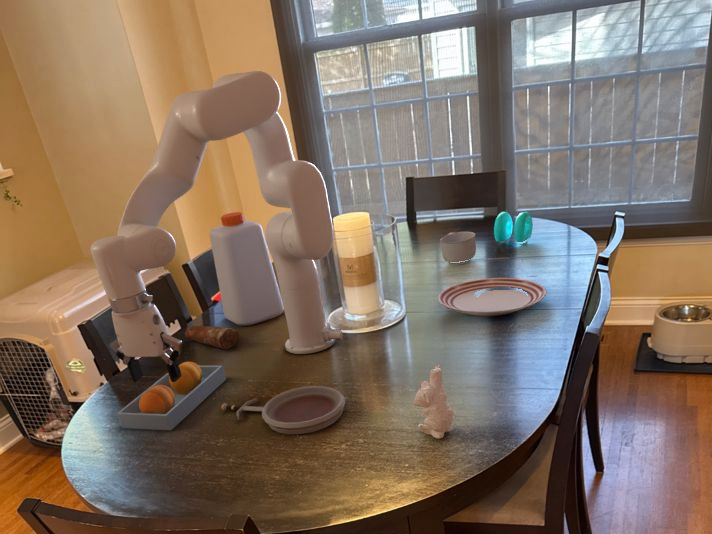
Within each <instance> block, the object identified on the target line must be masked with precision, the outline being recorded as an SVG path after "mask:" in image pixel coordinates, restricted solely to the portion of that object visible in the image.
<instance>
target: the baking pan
mask: <svg viewBox="0 0 712 534" xmlns="http://www.w3.org/2000/svg"><path fill="white" fill-rule="evenodd" d="M197 365H198V364H197ZM198 366H199V367H200V368H201V371H202V379H201V383H200V384H199V385H198V386H197V387H196V388H195V389H193V390H192V391H191V392H190V393H189V394H188V395H181V394H177V393H176V391H175V390H174V389H173V388H172V387H171V385H170V382H169V377H170V376H169V373H168V372H167V373H166V374H164V375H163V376H162V377H160V378H159V379H158V380H157V381H156V382H154V383H153V384H152V385H151V386H149V387H148V388H146V390H144V391H143V392H142V393H140V394H139V395H138V396H136V397H135V398H134V399H133V400H132V401H130V402H129V403H128V404H127V405H125V406H124V407H123V408H122V409H120V410H119V411H118V412H117V413H116V416H117V418H118V421H119V424H120V427H121V429H132V430H150V431H151V430H152V431H153V430H154V431H157V430H158V431H172V430H174V429H175V428H176V427H177V426H178V425H179V424H180V423H181V422H182V421H184V420H185V418H187V417H188V415H190V414H191V413H192V412H193V411H194V410H195V409H196V408H197V407H198V406H199V405H201V404H202V403H203V402H204V401H205V400H206V399H207V398H208V397H209V396H210V395H211V394H212V393H213V392H214V391H215V390H217V388H219V387H220V386H221V385H222V384H223V383H224V382H225V381H227V378H226V374H225V370H224V366H223V365H202V364H201V365H200V364H199V365H198ZM156 385H165V386H167V387H169V388H170V389H171V390H172V391H173V393H174V395H175V402H174V407H173V408H172V409H171V410H170V411H169V412H167V413H166V414H146V413H142V412H141V411H140V408H139V400H140V398H141V397H142V395H143V394H144V393H146V392H147V391H148V390H149V389H151V388H152V387H154V386H156Z"/></svg>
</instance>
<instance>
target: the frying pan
mask: <svg viewBox="0 0 712 534" xmlns="http://www.w3.org/2000/svg"><path fill="white" fill-rule="evenodd" d="M258 402H259V400H258V397H254V398H251V399H250V400H247V401H245V402H244V404H243V405H229V404H227V403H225V402H224V403H222V404H221V406H220V409H221V410H222V411H223V412H227V411H228V410H230V411H231V410H232V411H236V417H237V420H238V421H240V414H242V412H243V411H247V412H248V411H249V412H261V418H262V420H264V422H265V423H266V424H267V425H268V426H269V428H270V429H271V430H273V431H275V432H276V433H279V434H284V435H302V434H309V433H314V432H317V431H320V430H323V429H325V428H327V427H329V426H331V425H333V424H334V423H335V422H336V421H338V420H339V419H340V418H341V417H342V414H343V412H344V407H345V404H346V400H345V396H344V395H343V394H342V393H341V392H340V391H339V390H338V389H336V388H333V387H330V386H323V385H306V386H301V387H296V388H292V389H289V390H286V391H283V392H281V393H279V394H277V395H275V396H273V397H272V398H271V399H269V400H268V401H266V403H265V404H264V406H251V405H252V404H255V403H258Z"/></svg>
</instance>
